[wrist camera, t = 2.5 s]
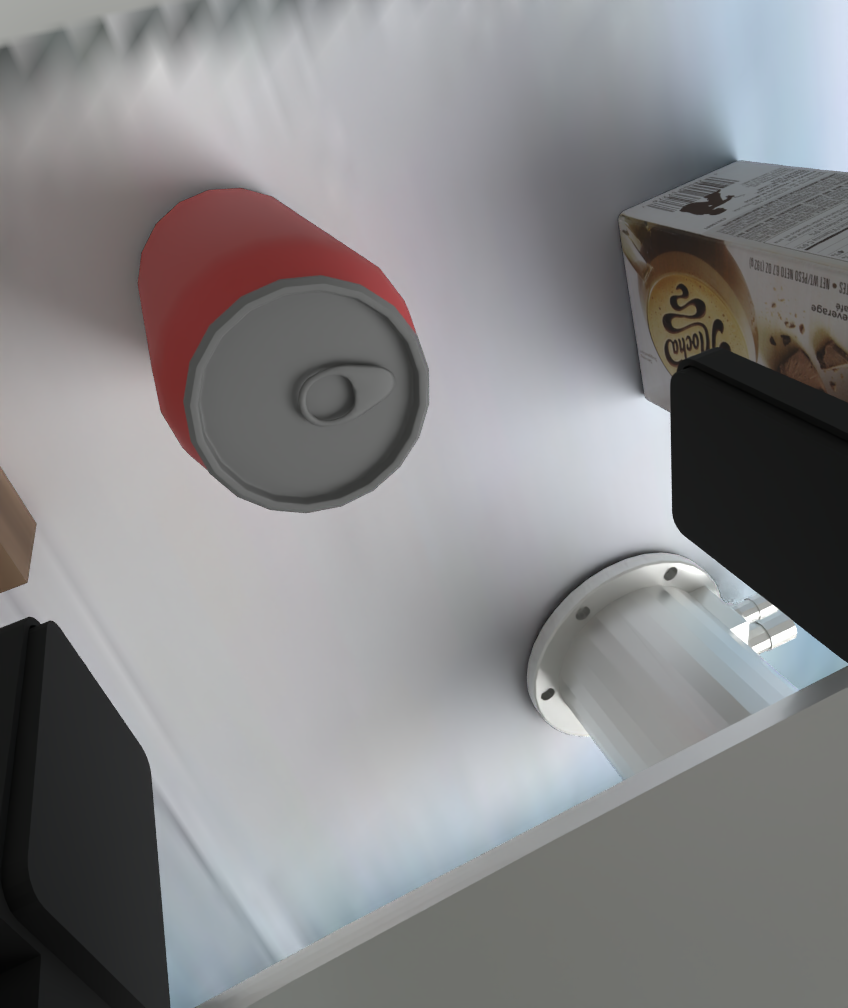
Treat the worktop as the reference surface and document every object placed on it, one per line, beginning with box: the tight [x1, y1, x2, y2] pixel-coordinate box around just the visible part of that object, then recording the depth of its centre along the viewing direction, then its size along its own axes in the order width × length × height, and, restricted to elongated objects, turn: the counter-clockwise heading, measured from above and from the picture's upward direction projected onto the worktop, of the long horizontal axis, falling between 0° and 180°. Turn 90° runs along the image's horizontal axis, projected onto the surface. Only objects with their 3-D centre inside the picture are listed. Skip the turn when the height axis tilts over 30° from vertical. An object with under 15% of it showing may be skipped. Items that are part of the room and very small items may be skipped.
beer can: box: [138, 188, 429, 513], centre depth 21 cm, size 7×7×12 cm
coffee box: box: [618, 160, 848, 413], centre depth 26 cm, size 9×6×16 cm
